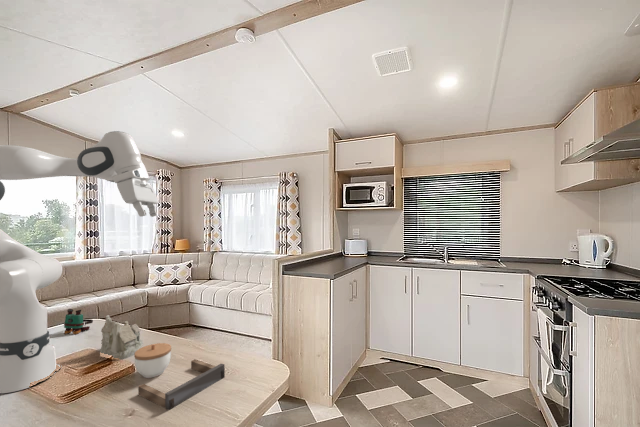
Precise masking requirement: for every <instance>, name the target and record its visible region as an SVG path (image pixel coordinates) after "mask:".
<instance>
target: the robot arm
mask: <svg viewBox="0 0 640 427" xmlns="http://www.w3.org/2000/svg"><path fill="white" fill-rule="evenodd" d="M55 177H92V178H96V179H101V180H105V181H108V182H111V183H115V184H116V187H117V189H118V191H119V193H120V196H121V198H122V200H123V201H124V202H125V204H129V205H132V206H133V208H134V209H135V211H136V212H137V214H138V216H139V217H145V216H147V212H146V210H145V209H144V207H143V206H147V209H148V211H149V212H148V213H149V216H150V217H151V218H152V217H153V218H154V217H157V211H156V205H157V204H158V203H159V199H158V196H157V193H156V192H155V189H154V187H153V186H152V185H151V184H150V183H148V182H149V181H151V180H150V179H151V178H150V176H149V172H148V170H147V168H146V165H145V164H144V163H143V160H142V154H141V152H140V150H139V147H138V145H137V143H136V141H135V138H133V136H132V135H131V134H129V133H127V132H125V131H119V130H118V131H117V130H116V131H115V130H114V131H109V132H107V133H105V134H104V135H103V136H102V138H101V139H100V140H99V141H98V142H97V143H96V144H94V145H92V146H90V147H89V148H88V147H87V148H85V149H83V150H82V151H81V152H80V153H79V154H78V156H77V158H70V157H64V156H59V155H56V154H53V153H49V152H46V151H43V150H40V149H37V148H33V147H27V146H22V145H16V144H14V145H13V144H0V201H1V200H2V199H3V198H4V196H5V194H6V188H5V185H4V183H3V182H2V181H3V180H4V181H17V180H33V179H34V180H35V179H42V178H45V179H46V178H55ZM1 180H2V181H1ZM62 274H63V265H62V263H61V262H60V261H59V260H58V259H57V258H55V257H51V256H47V255H45V254H42V253H40V252H38V251H37V250H34V249H32V248H30V247H29V246H27V245H24V244H23V243H20V242H19V241H17V240H15V239H14V238H13V237H11V236H10V234H8V233H6V232H5V231H4V230H2V229H1V228H0V394H7V393H14V392H18V391H22V390H25V389H29V388H30V387H29V386H30V383H31V382H34V381H38V380H40V379H43V378H45V377H47V376H49V375H50V374H51V373H52V372H53V371H54V370H55V369H56V365H58V366H59V367H60V365H61V364H57V359H56V348H55V346H53V344H50V331H49V330H48V308H47V307H46V306H45V305H43V304H41V302H39V300H38V297H37V294H36V293H37V291H38V290H41V289H43V288H47V287H48V286H50V285H52V284H53V283H55V282H57V281H58V280H59V279H60V278H61V276H62Z"/></svg>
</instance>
